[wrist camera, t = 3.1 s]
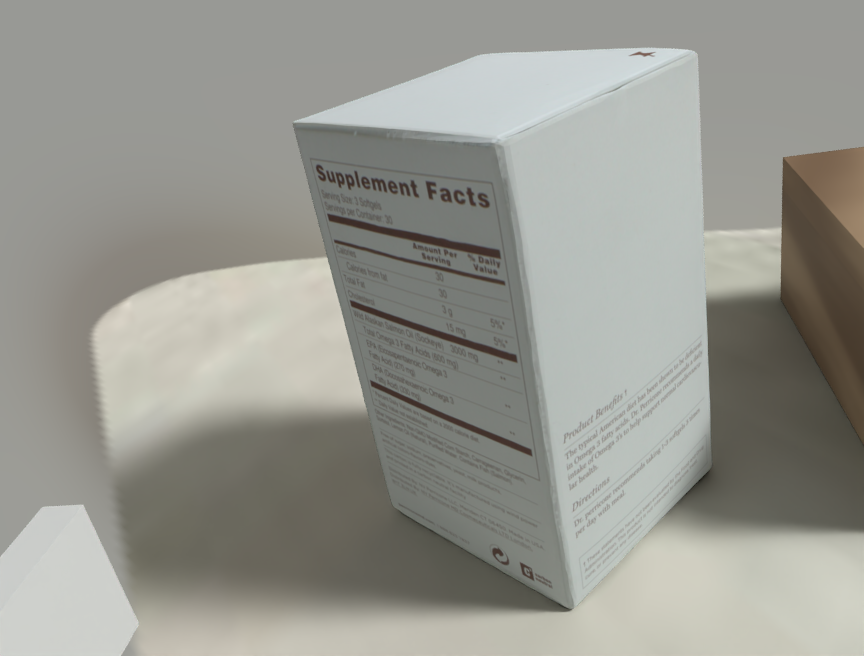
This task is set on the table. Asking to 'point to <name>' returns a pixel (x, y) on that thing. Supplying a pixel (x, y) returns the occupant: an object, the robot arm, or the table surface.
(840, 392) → the shelf
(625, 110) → the supplement box
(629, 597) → the table surface
